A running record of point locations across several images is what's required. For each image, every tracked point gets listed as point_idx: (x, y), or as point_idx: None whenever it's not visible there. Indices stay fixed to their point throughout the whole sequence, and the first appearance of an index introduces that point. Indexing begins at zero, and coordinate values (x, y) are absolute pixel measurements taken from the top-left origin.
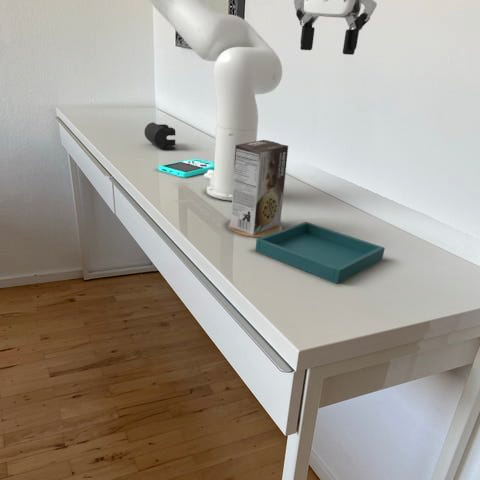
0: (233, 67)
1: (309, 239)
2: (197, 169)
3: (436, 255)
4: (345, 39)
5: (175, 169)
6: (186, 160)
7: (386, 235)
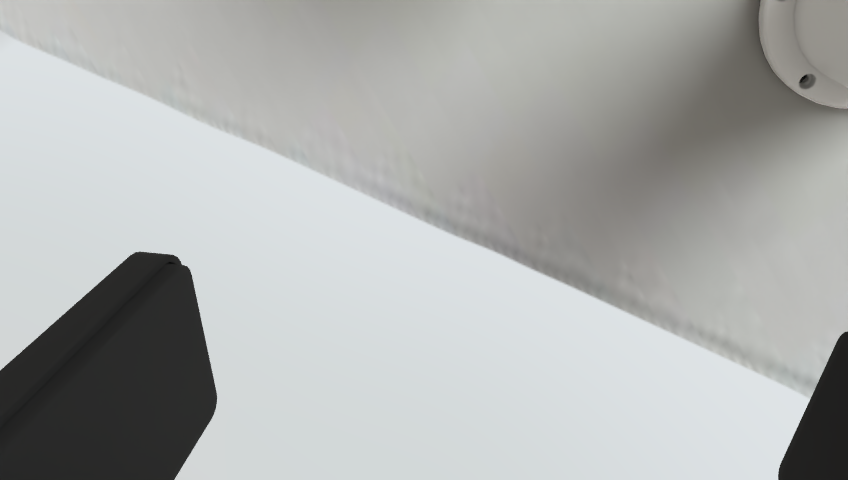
0: None
1: None
2: None
3: (66, 7)
4: (65, 351)
5: None
6: None
7: (233, 48)
